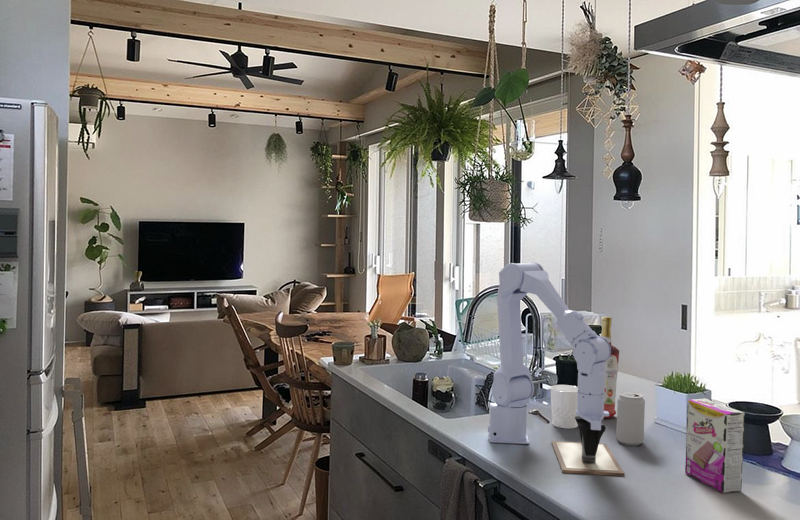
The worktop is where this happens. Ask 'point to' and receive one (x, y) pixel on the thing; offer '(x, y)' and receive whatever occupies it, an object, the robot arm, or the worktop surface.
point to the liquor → (610, 370)
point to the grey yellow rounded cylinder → (587, 458)
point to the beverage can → (630, 418)
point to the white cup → (564, 406)
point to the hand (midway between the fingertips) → (588, 452)
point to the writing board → (572, 462)
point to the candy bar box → (715, 444)
